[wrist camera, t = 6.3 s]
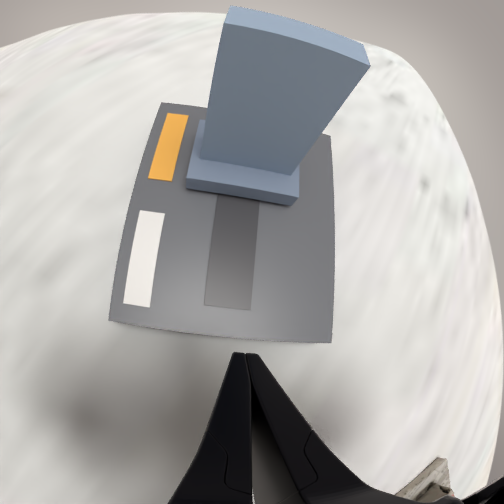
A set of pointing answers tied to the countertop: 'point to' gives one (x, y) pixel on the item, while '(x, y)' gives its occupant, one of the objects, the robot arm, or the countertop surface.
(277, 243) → the switch box
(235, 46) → the switch lever
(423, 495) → the packaged product
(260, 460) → the robot arm
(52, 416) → the countertop surface
